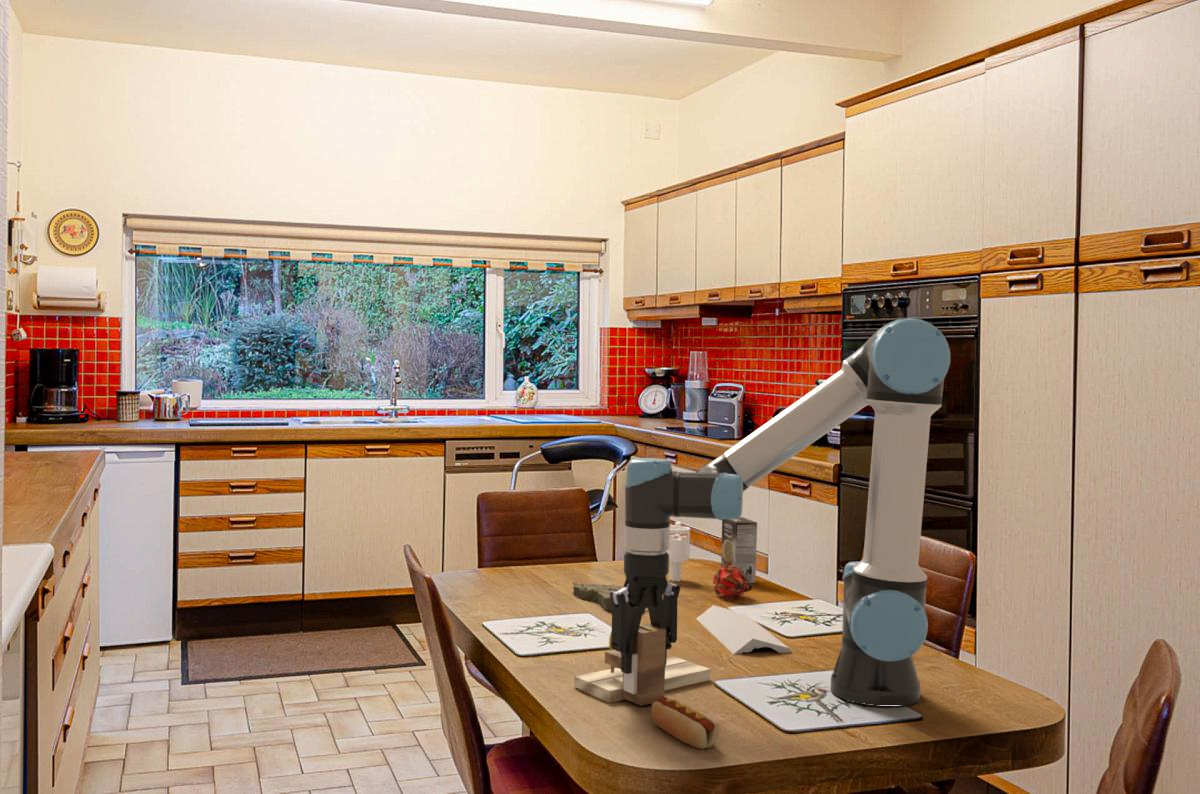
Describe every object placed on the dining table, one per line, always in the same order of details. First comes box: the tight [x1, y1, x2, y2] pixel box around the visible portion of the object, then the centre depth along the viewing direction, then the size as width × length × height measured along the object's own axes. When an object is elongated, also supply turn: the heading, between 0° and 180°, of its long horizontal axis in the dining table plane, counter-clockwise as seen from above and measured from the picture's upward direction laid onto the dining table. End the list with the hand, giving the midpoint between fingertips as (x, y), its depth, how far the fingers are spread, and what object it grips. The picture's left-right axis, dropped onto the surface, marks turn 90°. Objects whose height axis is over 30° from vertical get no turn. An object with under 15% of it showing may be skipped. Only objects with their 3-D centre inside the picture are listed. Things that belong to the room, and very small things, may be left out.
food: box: [650, 696, 720, 750], centre depth 161 cm, size 14×6×5 cm, turn 30°
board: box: [574, 656, 712, 704], centre depth 187 cm, size 10×23×2 cm, turn 127°
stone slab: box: [572, 581, 638, 612], centre depth 252 cm, size 27×12×5 cm, turn 31°
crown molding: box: [695, 604, 793, 655], centre depth 223 cm, size 29×12×4 cm, turn 10°
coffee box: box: [720, 516, 758, 584], centre depth 280 cm, size 9×6×16 cm
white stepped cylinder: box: [666, 521, 691, 582], centre depth 278 cm, size 7×7×15 cm
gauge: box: [604, 622, 666, 707], centre depth 180 cm, size 12×5×12 cm, turn 37°
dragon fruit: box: [712, 565, 753, 601], centre depth 259 cm, size 8×8×12 cm
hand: (643, 688), depth 177 cm, fingers closed on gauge, 5 cm apart
